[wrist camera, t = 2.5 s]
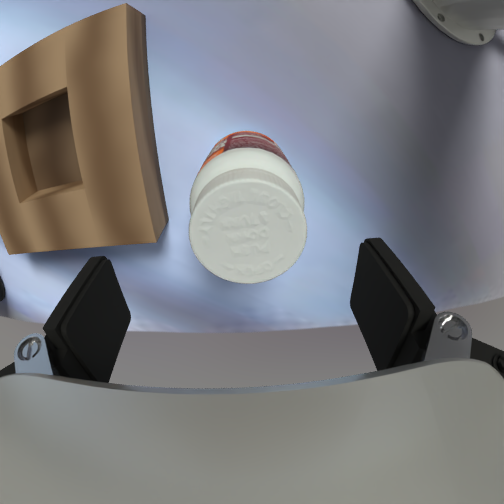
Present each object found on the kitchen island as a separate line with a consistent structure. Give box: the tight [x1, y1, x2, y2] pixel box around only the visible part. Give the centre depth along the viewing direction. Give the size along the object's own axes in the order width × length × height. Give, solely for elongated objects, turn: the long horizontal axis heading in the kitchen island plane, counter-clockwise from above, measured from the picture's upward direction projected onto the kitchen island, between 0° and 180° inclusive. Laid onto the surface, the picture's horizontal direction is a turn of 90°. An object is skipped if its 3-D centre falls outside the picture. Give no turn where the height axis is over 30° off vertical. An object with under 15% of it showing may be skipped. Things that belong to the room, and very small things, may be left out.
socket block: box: [0, 3, 169, 255], centre depth 17 cm, size 18×18×4 cm
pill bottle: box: [189, 131, 307, 284], centre depth 17 cm, size 6×6×11 cm
